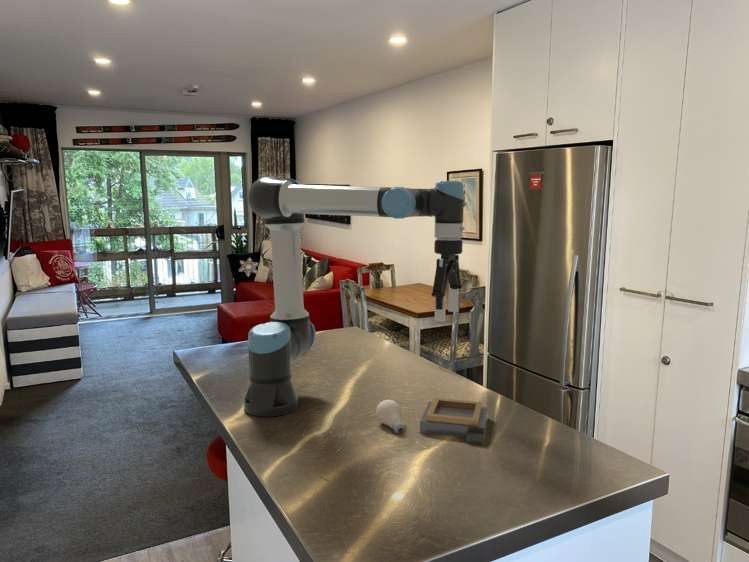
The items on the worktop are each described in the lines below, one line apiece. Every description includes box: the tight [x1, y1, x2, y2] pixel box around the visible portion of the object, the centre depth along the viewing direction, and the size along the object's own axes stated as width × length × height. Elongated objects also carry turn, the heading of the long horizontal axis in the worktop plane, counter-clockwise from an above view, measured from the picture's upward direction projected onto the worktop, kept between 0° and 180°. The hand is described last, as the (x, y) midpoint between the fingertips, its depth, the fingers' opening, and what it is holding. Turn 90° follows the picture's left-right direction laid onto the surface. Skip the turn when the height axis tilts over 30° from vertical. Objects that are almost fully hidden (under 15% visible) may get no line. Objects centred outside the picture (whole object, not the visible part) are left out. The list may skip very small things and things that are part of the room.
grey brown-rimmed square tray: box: [419, 397, 489, 445], centre depth 145 cm, size 16×21×4 cm
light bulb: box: [375, 399, 405, 434], centre depth 144 cm, size 7×7×11 cm
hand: (446, 316), depth 152 cm, fingers open, 13 cm apart
